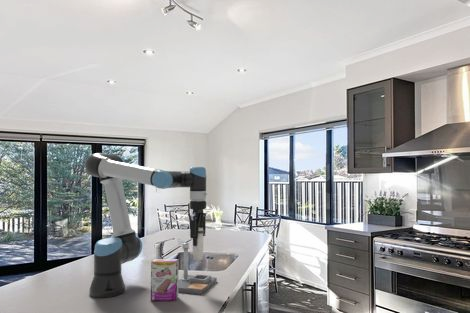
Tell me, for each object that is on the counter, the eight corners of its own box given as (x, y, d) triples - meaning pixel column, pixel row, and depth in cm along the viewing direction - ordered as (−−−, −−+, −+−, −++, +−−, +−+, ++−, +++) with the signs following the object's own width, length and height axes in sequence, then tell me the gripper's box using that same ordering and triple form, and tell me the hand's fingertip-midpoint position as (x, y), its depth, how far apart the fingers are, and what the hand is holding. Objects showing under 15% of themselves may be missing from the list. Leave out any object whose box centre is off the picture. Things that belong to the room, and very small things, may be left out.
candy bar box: (150, 301, 147) (150, 261, 148) (152, 297, 152) (153, 258, 153) (177, 301, 148) (177, 261, 149) (178, 297, 153) (178, 258, 154)
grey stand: (201, 294, 156) (201, 256, 157) (167, 291, 161) (168, 253, 162) (217, 281, 175) (217, 247, 176) (187, 278, 180) (187, 245, 181)
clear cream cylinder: (201, 260, 158) (201, 229, 159) (190, 259, 160) (190, 228, 160) (205, 258, 163) (205, 227, 164) (195, 257, 165) (195, 227, 165)
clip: (182, 243, 185) (182, 238, 185) (189, 248, 171) (189, 243, 172) (176, 243, 184) (176, 239, 184) (183, 249, 170) (183, 244, 170)
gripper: (197, 201, 153) (197, 256, 152) (212, 199, 170) (212, 248, 169) (182, 201, 156) (182, 255, 154) (198, 199, 172) (198, 247, 171)
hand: (198, 251), depth 162 cm, fingers closed on clear cream cylinder, 4 cm apart
